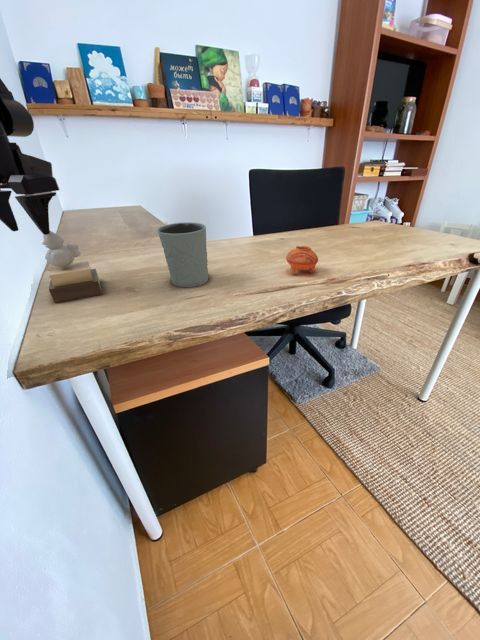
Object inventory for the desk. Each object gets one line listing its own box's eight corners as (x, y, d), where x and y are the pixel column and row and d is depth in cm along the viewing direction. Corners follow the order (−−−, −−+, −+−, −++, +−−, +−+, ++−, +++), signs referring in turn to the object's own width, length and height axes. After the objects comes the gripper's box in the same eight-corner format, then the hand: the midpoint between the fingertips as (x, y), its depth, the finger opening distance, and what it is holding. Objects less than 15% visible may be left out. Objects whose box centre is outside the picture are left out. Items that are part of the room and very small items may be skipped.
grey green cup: (209, 271, 75) (203, 221, 68) (214, 286, 67) (208, 230, 60) (168, 275, 73) (157, 224, 66) (168, 291, 65) (156, 234, 58)
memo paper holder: (102, 294, 64) (93, 269, 61) (54, 303, 60) (43, 277, 57) (99, 280, 70) (91, 257, 67) (56, 288, 67) (46, 264, 64)
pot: (278, 267, 76) (285, 240, 72) (305, 271, 78) (313, 245, 75) (289, 277, 69) (296, 247, 66) (318, 281, 72) (326, 253, 68)
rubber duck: (54, 266, 63) (32, 227, 59) (86, 258, 65) (67, 220, 60) (49, 272, 59) (25, 230, 54) (84, 263, 60) (63, 222, 56)
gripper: (67, 134, 52) (97, 226, 61) (1, 138, 59) (38, 221, 68) (2, 133, 44) (48, 240, 53) (-67, 137, 50) (-15, 232, 59)
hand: (30, 232), depth 58 cm, fingers open, 9 cm apart
